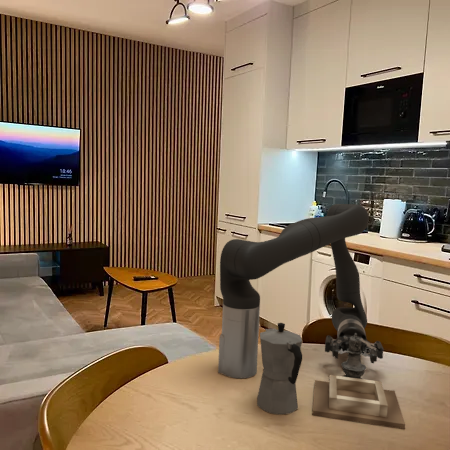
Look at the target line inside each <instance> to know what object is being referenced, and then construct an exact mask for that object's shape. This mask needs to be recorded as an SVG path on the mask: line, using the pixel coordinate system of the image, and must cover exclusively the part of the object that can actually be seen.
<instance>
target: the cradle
mask: <svg viewBox="0 0 450 450" xmlns="http://www.w3.org/2000/svg"><path fill="white" fill-rule="evenodd" d="M342 376H343V375H342ZM342 376H341V375H333V374H329V380H328V381H325V380H324V381H323V380H317V379H316V380H314V387H313V388H314V389H313V390H314V391H313V403H312V416H315V417H316V416H317V417H323V418H330V419H335V420H342V421H343V420H344V421H347V422H348V421H349V422H356V423H362V424H369V425H374V426H383V427H388V428H389V427H390V428H395V429H401V430H402V429H403V430H405V429H406V422H405V420H404V417H403V413H402V410H401V407H400V404H399V400H398V397H397V393H396V391H395V390H390V389H384V386H383V383H382V381H379V380H370V379H364V378H362V379H357V378H349V377H342Z"/></svg>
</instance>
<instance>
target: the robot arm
mask: <svg viewBox="0 0 450 450" xmlns="http://www.w3.org/2000/svg"><path fill="white" fill-rule="evenodd" d="M369 222H370V215H369V212H368V211H367V209H366V208H365V207H364V206H362V205H359V204H356V203H355V204H354V203H353V204H351V203H350V204H349V203H348V204H347V203H335V204H333V205H331V206H330V207H329V208H328V210H327V213H326V215H325V216H317V217H316V216H315V217H309V218H305V219H300V220H298V221H296V222H295V221H294V222H292V223H290V224H288V225H287V226H285V227H284V228H283V229H282V230H281V231H280V234H279V235H278V236H277V237H274V238H271V239H269V240H264V241H256V242H255V241H250V240H246V239H241V238H240V239H239V238H233V239H230V240H229V241H227V242H226V243H225V244H224V246H223V248H222V250H221V253H220V257H219V258H220V259H219V264H220V265H219V283H220V284H219V287H220V288H219V289H220V293H221V295H222V321H221V322H222V324H221V334H219V338H218V339H219V343H218V367H217V370H218V371H217V372H218V374H222V375H224V376H226V377H229V378H233V379H247V378H248V379H249V378H252V377H254V376H255V375H256V374H257V373H258V372H257V371H258V353H259V336H260V310H261V309H260V308H261V295H260V293H259V292H258V291H257V290H256V289H255V288H254V286H252V283H251V280H258V279H260V278H262V277H264V276H266V275H267V274H269V273H271V272H273V271H274V270H276V269H277V268H279V267H280V266H282V265H284V264H287V263H289V262H291V261H294V260H296V259H298V258H301V257H303V256H306V255H308V254H311V253H314V252H315V251H317V250H319V249H323V248H324V247H326V246H329V245H330V247H331V253H332V256H333V262H334V263H333V264H334V267H335V268H334V269H335V282H336V288H335V289H336V298H337V299H338V300H339V301H341V302H344V303H349V304H351V305H352V306H353V307H348V306H347V307H345V306H344V307H343V306H342V307H336V308H334V310H332V313H331V322H332V325H333V327H334V329H335V330H336V331H337V337H336V339H335V338H333V337H332V336H331V335H326V337H325V342H324V343H325V344H324V352H325V353H330V352H331V356H332V357H334V359H336V360H338V359H339V354H340V355H342V354H345V353H346V354H348V351H347V349H349V339H350V337H352V336H354V335H355V333H357V336H358V337H359V338H360V339H361V351H362V353H361V356H363V357H365V358H367V357H369V360H370V363H371V364H375V362H378V359H381V360H382V359H383V358H384V347H383V344H382V342H381V341H379V340H376V341H375V342H374V343H372V342H370V341H368V338H367V335H366V330H365V328H366V327H367V325H368V317H367V313H366V310H365V309H364V305H363V302H362V298H361V283H360V279H361V278H360V272H359V269H358V266H357V265H356V262H355V261H354V259H353V258H352V257H353V256H352V255H351V253H350V251H349V248H348V245H347V242H346V238H350V237H355V236H358V235H360V234H362V233H363V232H364V231H365V230H366V229H367V227H368V224H369Z"/></svg>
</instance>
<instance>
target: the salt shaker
mask: <svg viewBox="0 0 450 450" xmlns="http://www.w3.org/2000/svg"><path fill="white" fill-rule="evenodd" d="M347 351H348V353H347V359H346V361H342V363H341V364H340V365H341V367H342V371H343V373H344V375H342V377H349V378H357V379H363V377H362V376H363V375H364V374H365V371H366V369H367V367H366V365H364V363H362V361H361V356H362V355H361V353H362V351H361V339H360V338H359V337H358V336H357V333H355V335H354V336H352V337H350V339H349V349H347Z"/></svg>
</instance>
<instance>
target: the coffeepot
mask: <svg viewBox="0 0 450 450" xmlns="http://www.w3.org/2000/svg"><path fill="white" fill-rule="evenodd" d="M285 326H286V324H285V323H283V322H278V323H277V329H276V328H265V331H261V332H259V339H260V341H259V342H260V349H261V361H262V369H263V370H262V371H263V372H262V373H261V378H260V383H259V388H258V392H257V397H256V399H257V401H256V402H257V403H256V404H257V405H256V406H257V407H258V408H259V409H260V410H262V411H264V412H266V413H268V414H273V415H288V414H289V415H290V414H292V413H294V412H296V411H297V409H299V404H298V403H299V402H298V395H297V385H296V383H297V379H298V376H299V373H300V369H301V366H302V362H303V354H302V353H303V352H302V350H301V348H302V345H303V344H302V343H303V340H302V336H301V335H300V334H298V333H295V332H293V331H289V330H285V328H286V327H285Z"/></svg>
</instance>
